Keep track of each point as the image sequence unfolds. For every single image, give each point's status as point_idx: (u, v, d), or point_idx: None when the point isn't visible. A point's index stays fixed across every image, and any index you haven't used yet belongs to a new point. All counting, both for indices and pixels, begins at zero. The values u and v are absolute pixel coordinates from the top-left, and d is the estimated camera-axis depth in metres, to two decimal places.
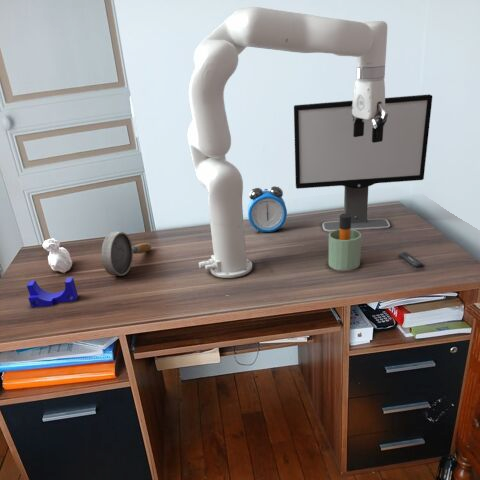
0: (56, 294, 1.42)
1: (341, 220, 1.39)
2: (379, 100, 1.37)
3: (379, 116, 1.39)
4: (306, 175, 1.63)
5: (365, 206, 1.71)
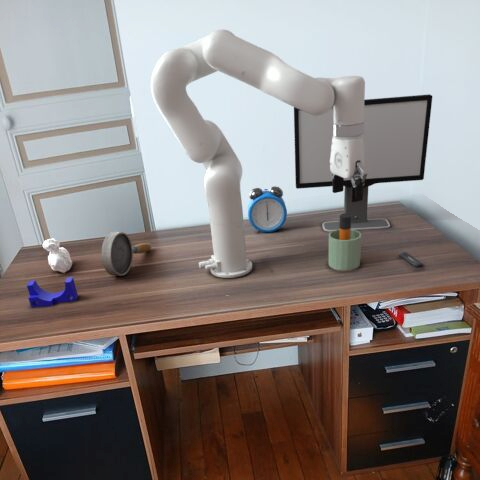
0: (56, 294, 1.42)
1: (341, 220, 1.39)
2: (357, 159, 1.27)
3: (358, 175, 1.30)
4: (306, 175, 1.63)
5: (365, 206, 1.71)
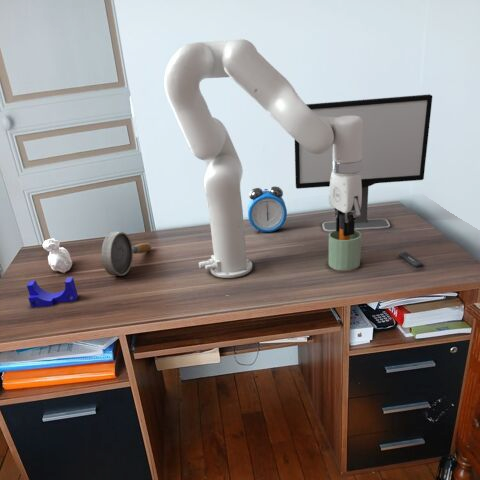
0: (56, 294, 1.42)
1: (341, 220, 1.39)
2: (355, 195, 1.32)
3: None
4: (306, 175, 1.63)
5: (365, 206, 1.71)
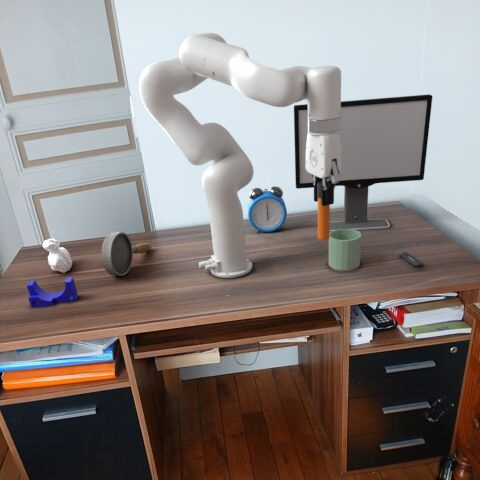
0: (56, 294, 1.42)
1: (319, 188, 1.24)
2: (334, 157, 1.17)
3: None
4: (306, 175, 1.63)
5: (365, 206, 1.71)
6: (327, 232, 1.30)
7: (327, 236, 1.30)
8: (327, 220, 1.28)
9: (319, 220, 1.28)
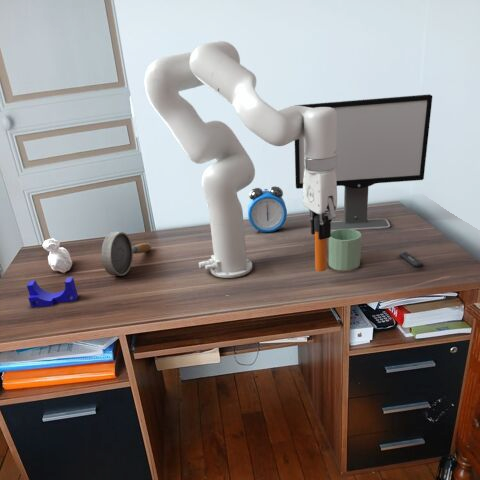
0: (56, 294, 1.42)
1: (316, 222, 1.27)
2: (330, 194, 1.20)
3: None
4: None
5: (365, 206, 1.71)
6: (324, 264, 1.33)
7: (324, 268, 1.33)
8: (324, 253, 1.31)
9: (316, 252, 1.31)
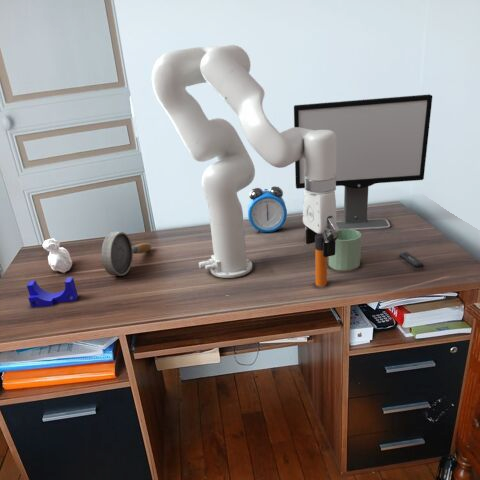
0: (56, 294, 1.42)
1: (317, 240, 1.30)
2: (329, 214, 1.22)
3: (330, 230, 1.25)
4: None
5: (365, 206, 1.71)
6: (324, 281, 1.35)
7: (324, 284, 1.36)
8: (324, 270, 1.34)
9: (317, 270, 1.34)
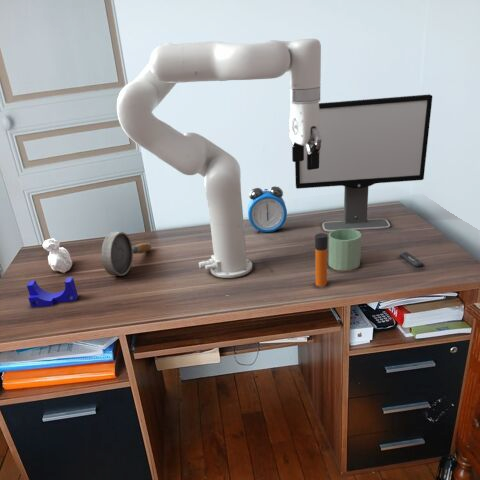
0: (56, 294, 1.42)
1: (317, 240, 1.30)
2: (313, 125, 1.25)
3: (314, 142, 1.28)
4: (306, 175, 1.63)
5: (365, 206, 1.71)
6: (324, 281, 1.35)
7: (324, 284, 1.36)
8: (324, 270, 1.34)
9: (317, 270, 1.34)
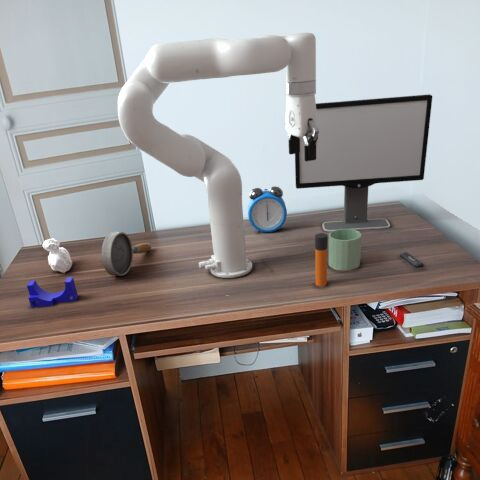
0: (56, 294, 1.42)
1: (317, 240, 1.30)
2: (310, 117, 1.28)
3: (311, 133, 1.31)
4: (306, 175, 1.63)
5: (365, 206, 1.71)
6: (324, 281, 1.35)
7: (324, 284, 1.36)
8: (324, 270, 1.34)
9: (317, 270, 1.34)
